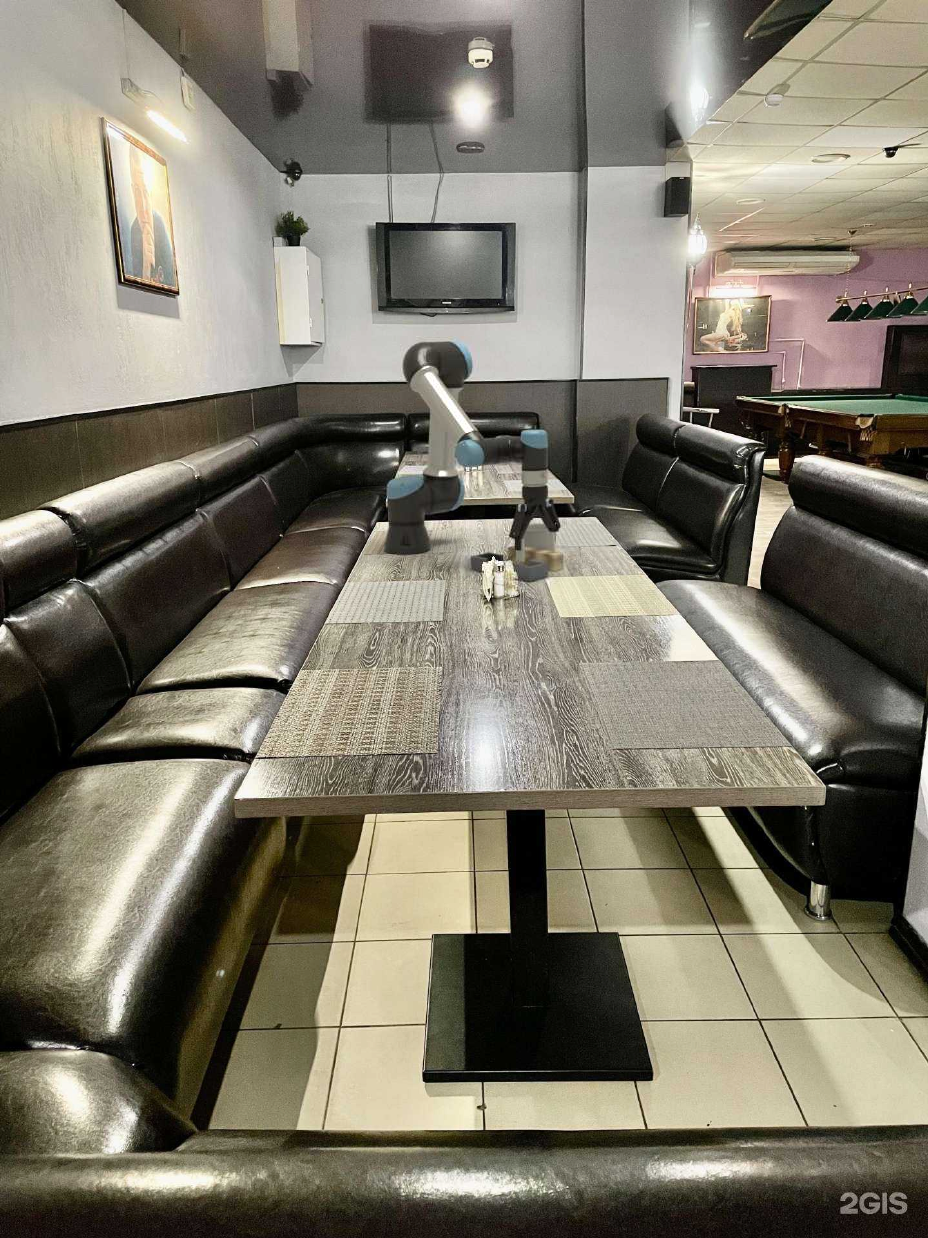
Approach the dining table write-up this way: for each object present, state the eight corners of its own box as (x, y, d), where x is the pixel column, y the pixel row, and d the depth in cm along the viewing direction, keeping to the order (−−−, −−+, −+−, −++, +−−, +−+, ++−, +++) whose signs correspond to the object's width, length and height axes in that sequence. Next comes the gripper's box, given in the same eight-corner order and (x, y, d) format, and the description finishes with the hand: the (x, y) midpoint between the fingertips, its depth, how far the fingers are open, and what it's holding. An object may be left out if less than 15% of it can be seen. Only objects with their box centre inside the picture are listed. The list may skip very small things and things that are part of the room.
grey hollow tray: (547, 577, 244) (548, 563, 243) (530, 582, 239) (530, 567, 238) (531, 573, 249) (531, 560, 247) (514, 578, 244) (513, 564, 242)
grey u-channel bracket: (471, 569, 255) (470, 556, 254) (488, 565, 260) (488, 552, 259) (485, 572, 251) (485, 559, 250) (503, 568, 256) (503, 554, 255)
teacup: (553, 553, 273) (553, 528, 271) (518, 554, 273) (518, 529, 271) (549, 544, 286) (550, 520, 284) (516, 545, 287) (516, 521, 284)
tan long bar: (507, 563, 263) (507, 547, 262) (516, 561, 266) (516, 545, 264) (554, 572, 251) (554, 555, 249) (563, 569, 253) (563, 552, 252)
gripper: (515, 490, 240) (516, 566, 246) (572, 480, 257) (572, 551, 263) (495, 488, 246) (497, 562, 251) (552, 479, 262) (553, 548, 268)
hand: (535, 557), depth 257 cm, fingers open, 13 cm apart
